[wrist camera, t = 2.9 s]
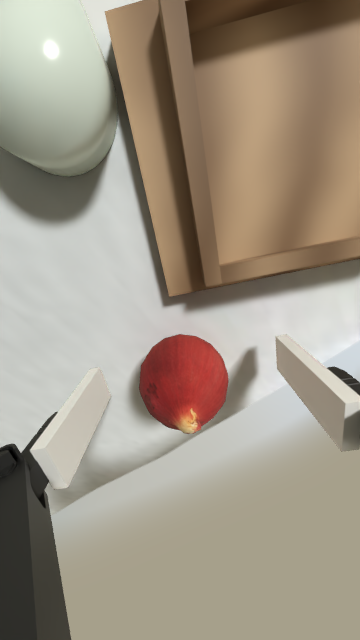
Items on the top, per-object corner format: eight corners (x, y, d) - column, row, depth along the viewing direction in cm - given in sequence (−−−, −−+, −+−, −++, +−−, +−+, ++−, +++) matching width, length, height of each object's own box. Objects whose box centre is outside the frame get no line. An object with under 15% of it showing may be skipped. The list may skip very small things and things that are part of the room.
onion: (178, 390, 19) (178, 489, 11) (133, 348, 17) (98, 429, 10) (230, 354, 17) (269, 437, 10) (186, 304, 16) (194, 359, 8)
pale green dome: (26, 187, 13) (-16, 172, 10) (-35, 35, 11) (-111, -40, 8) (132, 161, 13) (119, 138, 10) (93, -4, 10) (61, -97, 7)
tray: (169, 293, 16) (168, 302, 13) (112, 36, 11) (92, -29, 8) (419, 242, 14) (471, 242, 12) (479, -69, 10) (585, -180, 7)
